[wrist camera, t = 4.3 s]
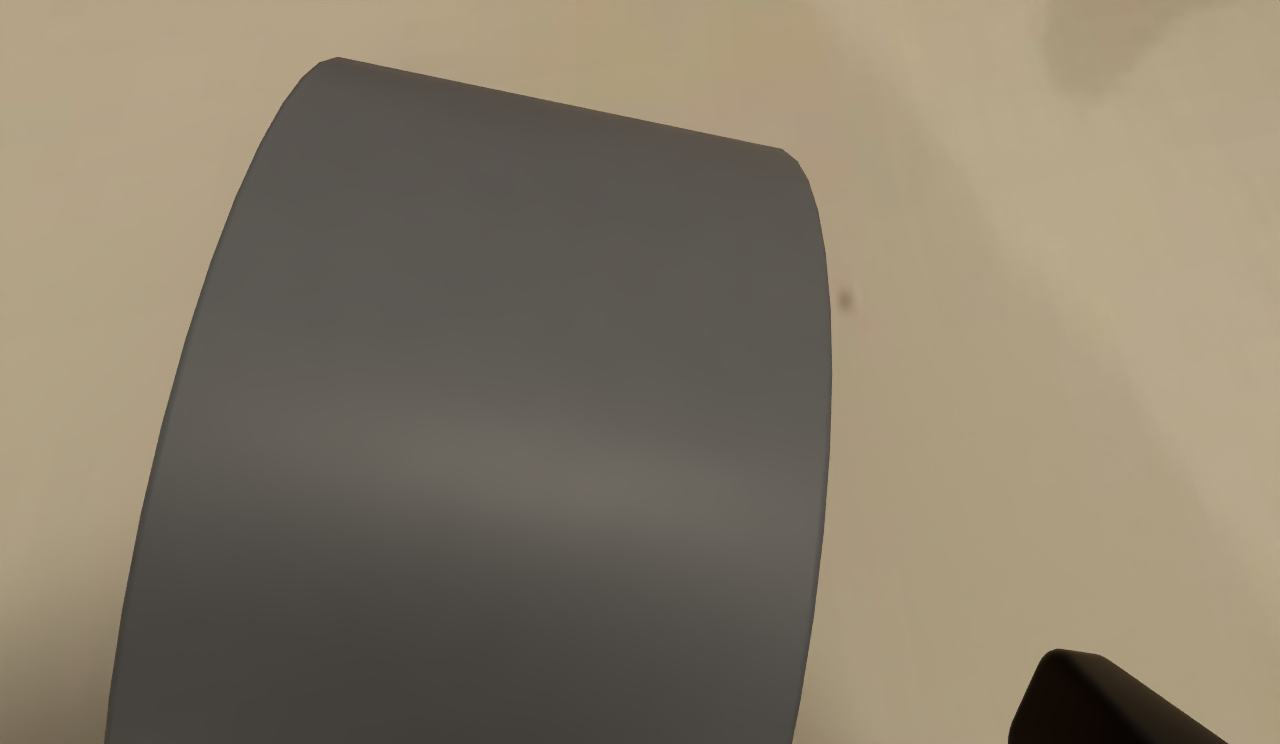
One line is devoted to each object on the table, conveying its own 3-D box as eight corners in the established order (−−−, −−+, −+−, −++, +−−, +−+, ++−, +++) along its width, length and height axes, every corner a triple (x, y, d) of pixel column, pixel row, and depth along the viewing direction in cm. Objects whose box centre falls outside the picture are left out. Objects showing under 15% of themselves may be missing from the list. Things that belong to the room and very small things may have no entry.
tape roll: (582, 958, 14) (802, 1234, 6) (238, 922, 14) (-81, 1168, 5) (656, 346, 18) (864, -51, 9) (382, 296, 17) (331, -176, 9)
